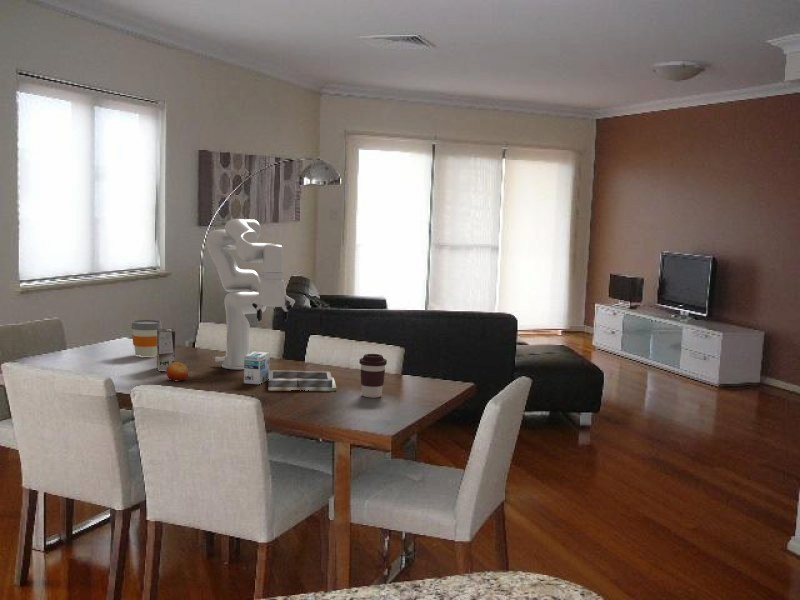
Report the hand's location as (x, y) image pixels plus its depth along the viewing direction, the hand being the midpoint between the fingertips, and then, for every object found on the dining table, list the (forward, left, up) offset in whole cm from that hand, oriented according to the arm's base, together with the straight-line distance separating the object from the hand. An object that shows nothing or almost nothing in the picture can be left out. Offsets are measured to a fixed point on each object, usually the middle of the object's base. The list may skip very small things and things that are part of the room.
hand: (272, 321), depth 310 cm
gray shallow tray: (+12, -8, -23) cm, 27 cm away
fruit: (-35, -2, -24) cm, 42 cm away
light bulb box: (-5, -2, -24) cm, 24 cm away
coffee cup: (+37, -24, -24) cm, 50 cm away
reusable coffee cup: (-54, +46, -24) cm, 75 cm away
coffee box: (-42, +18, -24) cm, 52 cm away
